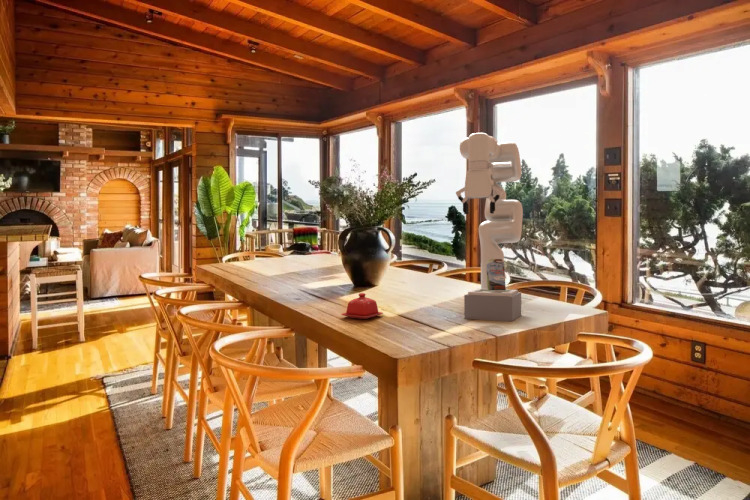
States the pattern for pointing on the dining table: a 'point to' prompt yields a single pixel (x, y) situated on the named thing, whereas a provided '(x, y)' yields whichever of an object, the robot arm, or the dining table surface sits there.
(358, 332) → the dining table surface
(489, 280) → the beverage can
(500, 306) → the stand
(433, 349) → the dining table surface
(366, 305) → the butter dish
